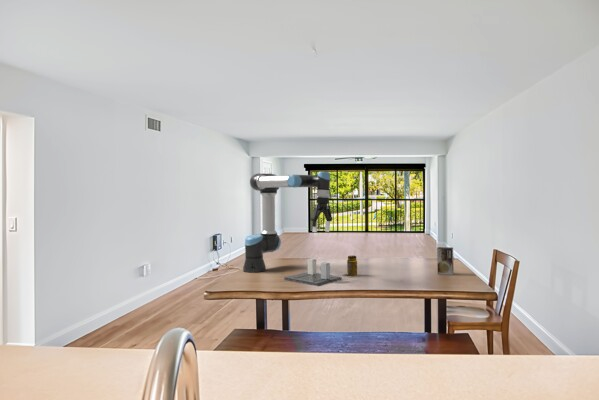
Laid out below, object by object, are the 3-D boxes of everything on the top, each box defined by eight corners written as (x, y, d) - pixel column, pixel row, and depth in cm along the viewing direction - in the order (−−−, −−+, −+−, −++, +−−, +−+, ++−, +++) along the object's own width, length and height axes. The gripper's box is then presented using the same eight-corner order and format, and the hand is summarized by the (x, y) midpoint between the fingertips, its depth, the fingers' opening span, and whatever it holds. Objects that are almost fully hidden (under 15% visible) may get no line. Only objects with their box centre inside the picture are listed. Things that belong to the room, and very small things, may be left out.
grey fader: (320, 278, 248) (320, 263, 248) (324, 277, 251) (324, 262, 251) (326, 279, 246) (325, 263, 245) (330, 278, 248) (329, 262, 248)
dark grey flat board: (284, 279, 255) (284, 277, 255) (309, 274, 271) (309, 271, 271) (316, 285, 237) (316, 283, 237) (341, 279, 253) (341, 276, 253)
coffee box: (453, 273, 265) (453, 247, 264) (452, 275, 259) (452, 248, 258) (438, 272, 268) (438, 246, 268) (437, 274, 263) (436, 248, 262)
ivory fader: (307, 273, 262) (307, 259, 262) (311, 273, 265) (311, 258, 265) (312, 274, 260) (312, 259, 259) (316, 273, 262) (316, 259, 262)
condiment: (360, 275, 263) (359, 256, 263) (349, 277, 259) (349, 257, 258) (352, 273, 270) (352, 254, 269) (342, 275, 265) (341, 256, 265)
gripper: (316, 196, 249) (314, 233, 249) (338, 198, 269) (337, 231, 269) (305, 196, 254) (303, 231, 254) (328, 197, 274) (327, 230, 274)
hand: (321, 231), depth 261 cm, fingers open, 13 cm apart
